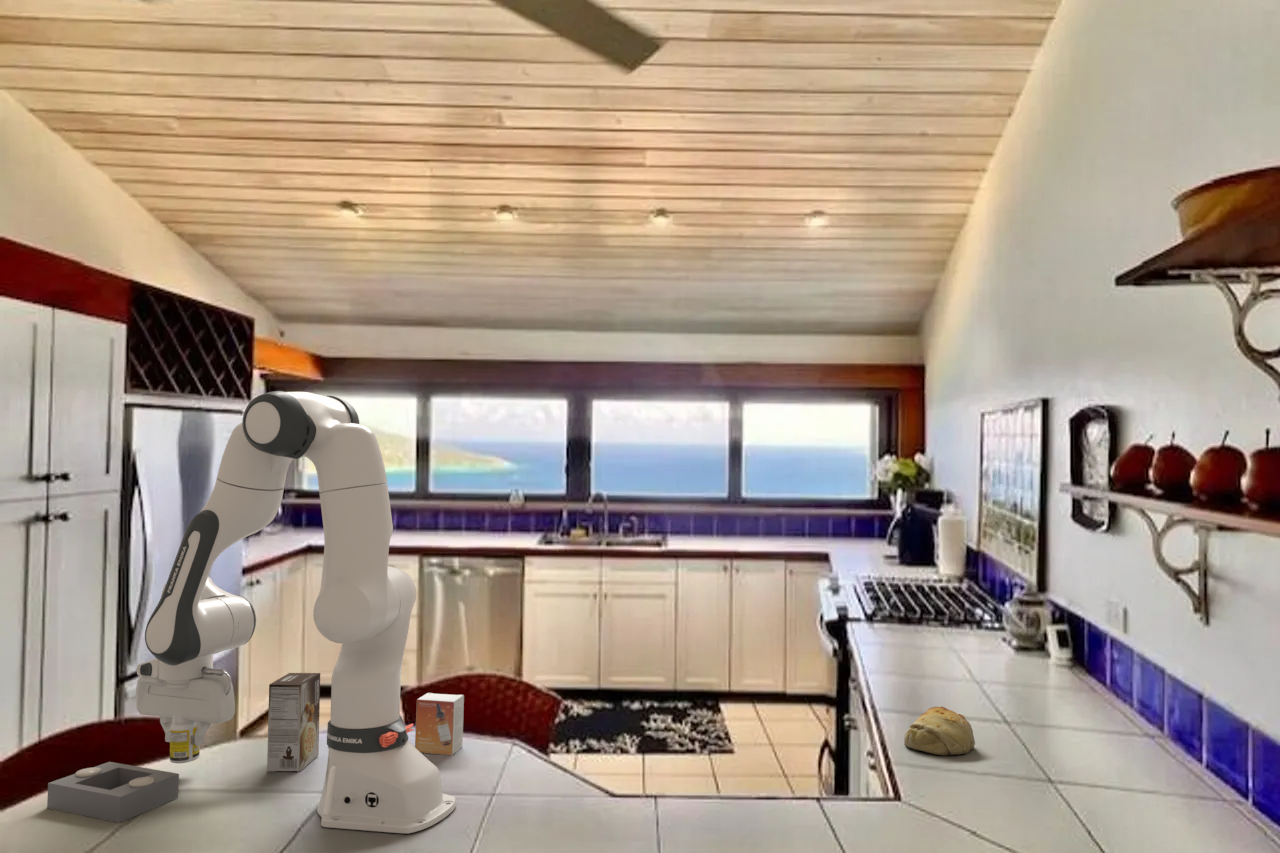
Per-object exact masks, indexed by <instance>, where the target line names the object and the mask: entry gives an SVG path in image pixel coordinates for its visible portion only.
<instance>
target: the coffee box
mask: <svg viewBox="0 0 1280 853" xmlns="http://www.w3.org/2000/svg"><path fill="white" fill-rule="evenodd" d="M321 674H322V673H320V672H288V673H287V674H285V675H283V676H282V677H280V678H278V679H276V680H275V681H272V682H271V683H270V684H268V685H269V686H268V716H267V717H268V718H267V719H268V720H267V721H268V722H267V724H268V725H267V753H266V754H267V755H266V756H267V757H266V758H267V759H266V770H267V772H275V771H300V772H301V771H302V770H303V769H305V767H307V766H308V765H309V764H310V763H311V762H313V761H314V760H315V759H316V758H317V757H319V754H320V753H319V752H320V751H319V750H320V749H319V748H320V747H319V746H320V744H319V743H320V742H319V741H320V701H321Z"/></svg>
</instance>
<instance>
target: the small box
mask: <svg viewBox="0 0 1280 853" xmlns="http://www.w3.org/2000/svg"><path fill="white" fill-rule="evenodd" d="M464 703H465V695H464V694H448V693H433V692H427V693H425V694H423V695H422V696H420V697H419V698H417V699H416V709H415V710H416V713H415V716H416V717H415V735H414V740H415V741H414V747H415V748H416V749H417V750H418V751H419V752H421V753H422V754H432V755H434V754H435V755H444V756H449V755H450V756H451V757H452V756H453V755H455V753H457V752H458V751H459V750H460V749H461V748H462V747H463V741H464V739H463V737H464V736H463V735H464V710H465V708H464V707H465V706H464Z"/></svg>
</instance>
